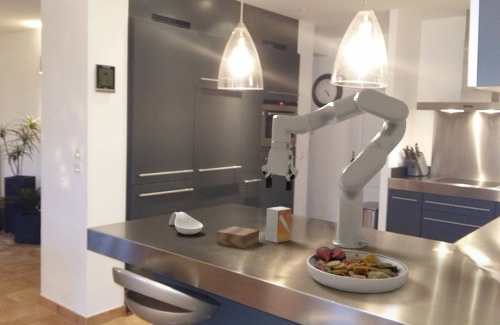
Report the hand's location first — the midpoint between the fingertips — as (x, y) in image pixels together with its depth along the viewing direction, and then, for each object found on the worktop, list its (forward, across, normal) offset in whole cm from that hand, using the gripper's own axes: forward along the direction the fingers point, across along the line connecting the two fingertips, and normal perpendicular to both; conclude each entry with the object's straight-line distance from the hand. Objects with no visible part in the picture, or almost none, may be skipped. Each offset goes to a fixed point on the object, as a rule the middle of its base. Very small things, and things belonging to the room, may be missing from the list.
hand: (278, 189), depth 186 cm
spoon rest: (+22, +39, +14) cm, 47 cm away
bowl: (+21, -46, +22) cm, 55 cm away
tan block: (+21, +8, +14) cm, 27 cm away
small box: (+21, -1, 0) cm, 21 cm away
